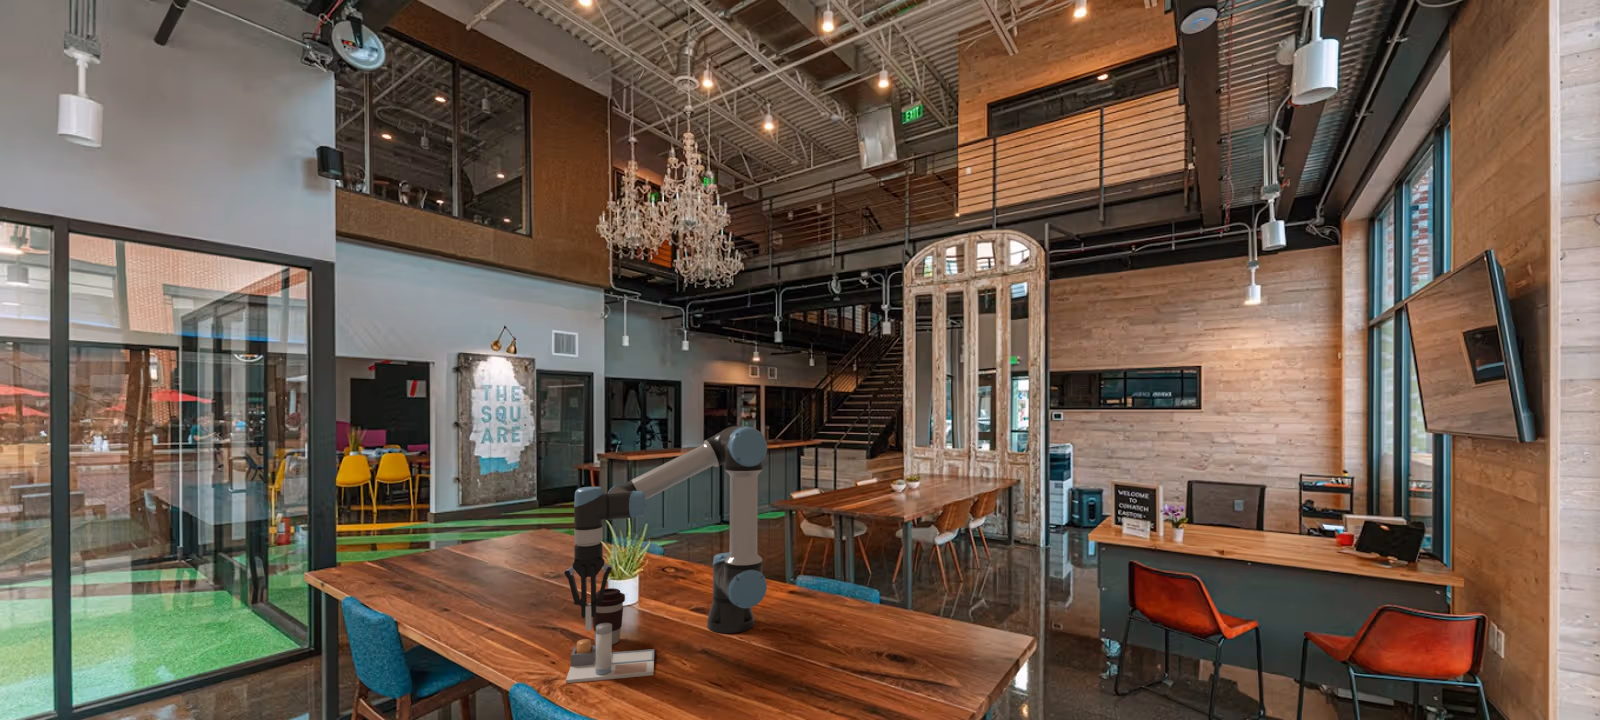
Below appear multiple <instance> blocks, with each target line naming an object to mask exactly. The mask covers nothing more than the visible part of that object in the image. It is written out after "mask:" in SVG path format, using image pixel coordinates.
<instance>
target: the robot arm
mask: <svg viewBox="0 0 1600 720" xmlns="http://www.w3.org/2000/svg"><path fill="white" fill-rule="evenodd" d="M767 453H768V443H767V440H766V437H765V436H764V434H763V433H762V432H760V431H759V430H758V429H756V428H755V427H751V426H746V425H745V426H740V425H732V426H729V427H727V428H725V429H723V430H722V431H720V432H718V433H716V434H715V435H713V436H711V437H709V438H707V439H705V440H704V441H703V443H702V445H700V446H698V447H696V448H694V449H692V450H689V451H688V452H685V453H683V454H681V455H680V456H679V455H678V456H677V457H675V458H672V459H671V460H669V461H667V462H665V463H663V464H662V465H659V466H657V467H655V468H653V469H651V470H648V471H647V472H645V473H642V474H640V475H639V476H636V477H635V478H632V479H631V480H629V481H626V482H625V483H622V484H617V485H614V486H613V487H611V488H610V489H609V490H608V491H607V492H604V491H603V489H602V487H601V486H584V487H579V488H577V489H576V490H575V492H574V502H573V503H574V504H573V509H574V510H573V511H574V513H573V514H574V515H573V516H574V517H573V518H574V528H573V530H574V531H573V533H574V535H573V536H574V537H573V538H574V540H573V541H574V544H575V545H574V548H573V549H574V555H573V556H574V557H573V558H574V560H573V563H572V566H570V567H569V568H566V569H565V571H564V572H563V573H564V574H563V575H565V577H566V578H567V580H568V584H569V588H570V593H571V595H572V599H573V603H574V605H575V606H580V608H581V609H580V610H581V611H580V612H581V619H585V632H587V631H592V629H593V617H595V615H596V604H597V603H600V602H602V599H603V596H604V591H605V589H606V586H607V582H608V577H609V575H610V574H611V572H612V570H613V565H609V564H607V563H605V560H604V558H603V557H604V556H603V543H602V541H603V522H604V521H612V520H621V519H636V518H639V517H641V518H642V517H643V516H644V515H646V511H647V509H646V508H647V506H646V505H647V503H646V501H647V499H650V498H652V497H653V496H656V495H658V494H659V493H662V492H663V491H666V490H667V489H669V488H672V487H674V486H676V485H677V484H679V483H681V482H683V481H685V480H687V479H690V478H691V477H693V476H695V475H697V474H699V473H701V472H704V471H705V470H707V469H709V468H711V467H715V468H718V467H719V466H723V465H724V471H725V472H726V473H727V474H728V475H729V551H728V552H721V553H717V554H715V555H714V556H713V558H712V559H713V561H712V603H711V606H710V609H709V613H708V616H707V619H706V620H707V623H706V624H707V625H706V628H707V629H709V630H710V631H712V632H715V633H719V634H720V633H721V634H736V633H742V632H745V631H748V630H750V629H752V628H753V627H754V625H755V618H754V617H755V616H754V613H753V610H752V608H753V607H755V606H757V605H758V604H759V603H760V602H762V600H763V599H764V598H765V596H766V593H767V589H768V584H767V583H768V582H767V579H766V577H765V576H764V573H763V558H762V557H761V556H760V555H759V554H758V510H759V509H758V502H759V501H758V497H759V496H758V495H759V494H758V492H759V491H758V490H759V489H758V486H759V485H758V484H759V483H758V481H759V480H758V478H759V477H758V476H759V474H760V473H761V472H763V467H764V466H763V462H764V461H763V460H764V459H765V457H766V455H767ZM601 570H602V573H604V574H603V577H602V580H601V581H602V582H601V584H600V589H599V590H600V593H599V597H597V598H596V593H597V575H598V574H600V573H599V572H600V571H601ZM575 572H576V573H577V575H578V576H579V577H580V585H581V586H580V595H579V590H578V586H577V583H576V579H575ZM587 578H590V603H587V602H588V601H587V600H588V599H587V597H588V592H587V590H588V589H587V588H588V587H587V586H588V585H587V584H588V582H587V581H588V580H587Z"/></svg>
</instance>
